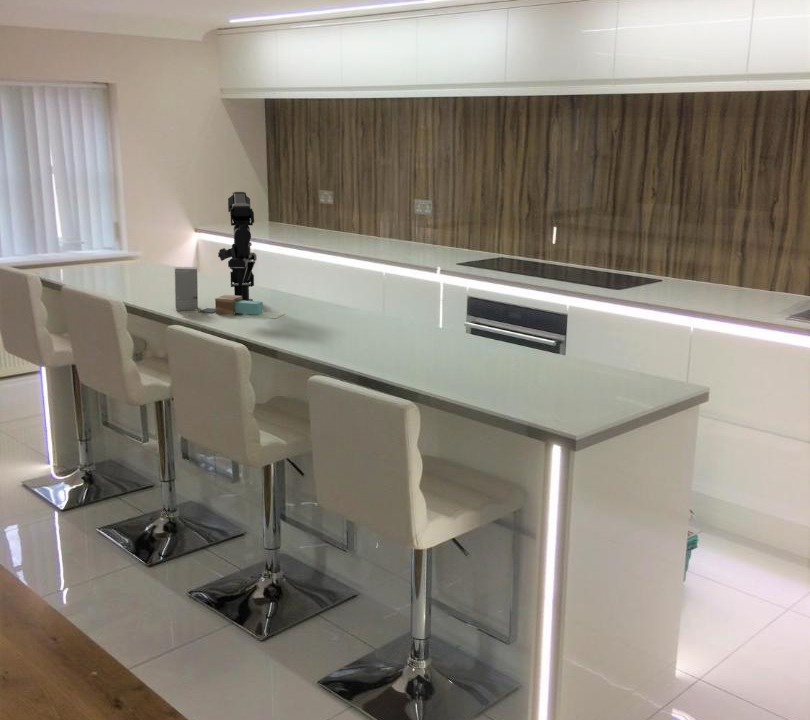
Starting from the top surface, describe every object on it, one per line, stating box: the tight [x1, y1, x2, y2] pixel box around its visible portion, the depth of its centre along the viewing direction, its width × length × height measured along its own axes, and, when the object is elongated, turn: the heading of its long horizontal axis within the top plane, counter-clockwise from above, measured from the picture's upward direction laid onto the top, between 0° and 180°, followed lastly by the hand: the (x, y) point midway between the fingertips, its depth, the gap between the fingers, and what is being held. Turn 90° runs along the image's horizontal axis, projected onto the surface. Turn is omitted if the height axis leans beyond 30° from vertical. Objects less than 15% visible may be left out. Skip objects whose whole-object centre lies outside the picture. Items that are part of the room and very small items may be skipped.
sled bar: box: [234, 300, 264, 315], centre depth 331 cm, size 4×14×4 cm, turn 74°
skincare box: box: [174, 266, 199, 311], centre depth 337 cm, size 8×7×16 cm
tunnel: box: [214, 294, 242, 316], centre depth 332 cm, size 8×7×6 cm
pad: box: [242, 311, 285, 319], centre depth 329 cm, size 8×13×1 cm, turn 74°
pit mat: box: [197, 307, 216, 314], centre depth 335 cm, size 7×6×1 cm
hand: (243, 283), depth 326 cm, fingers open, 9 cm apart
